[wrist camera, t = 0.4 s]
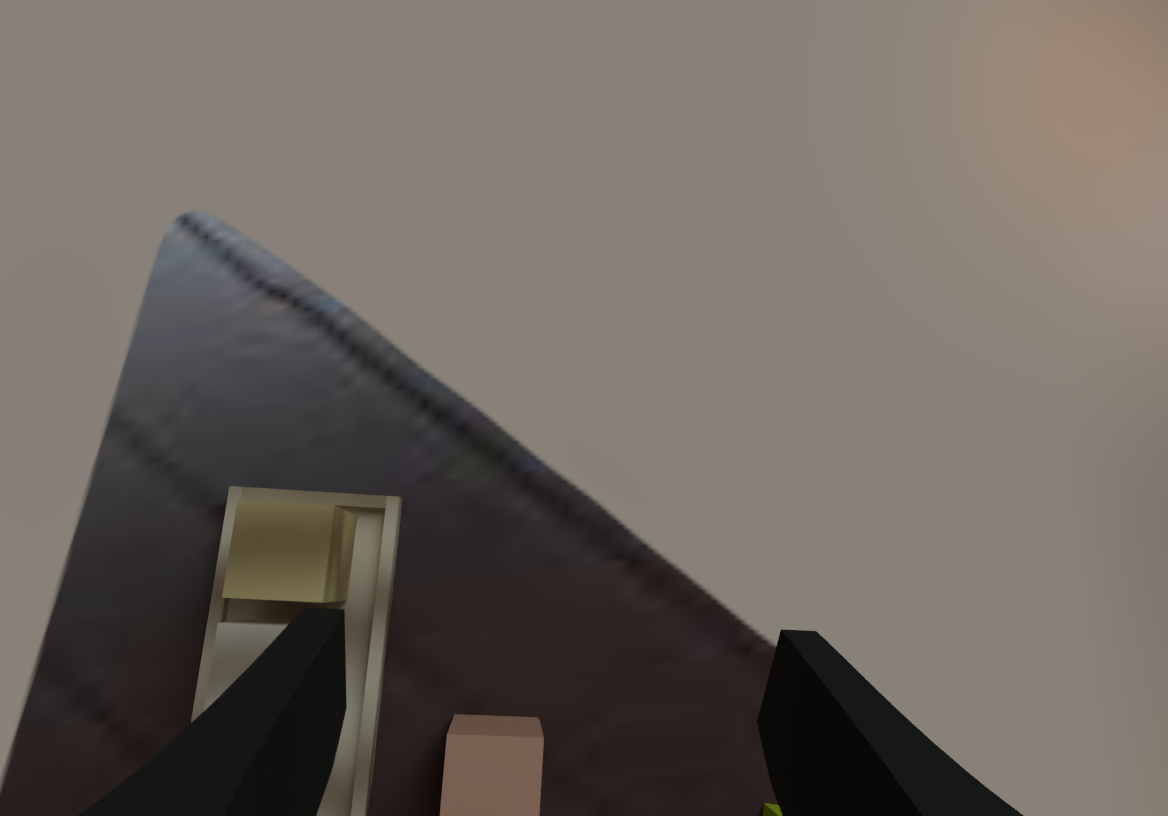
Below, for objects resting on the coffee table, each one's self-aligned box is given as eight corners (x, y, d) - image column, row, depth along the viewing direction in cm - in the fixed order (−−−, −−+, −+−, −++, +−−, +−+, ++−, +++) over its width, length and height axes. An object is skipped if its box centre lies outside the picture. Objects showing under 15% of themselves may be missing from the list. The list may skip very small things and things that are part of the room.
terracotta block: (533, 808, 35) (537, 844, 30) (446, 806, 35) (437, 841, 30) (538, 717, 36) (543, 737, 31) (454, 714, 36) (447, 734, 31)
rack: (335, 1116, 32) (300, 1226, 26) (137, 1118, 31) (58, 1231, 25) (402, 499, 38) (385, 485, 32) (238, 489, 37) (192, 472, 32)
